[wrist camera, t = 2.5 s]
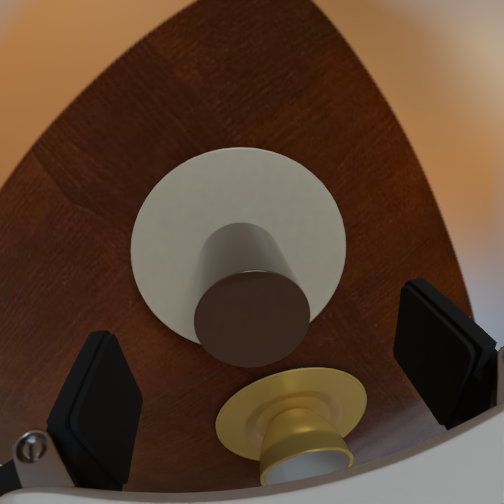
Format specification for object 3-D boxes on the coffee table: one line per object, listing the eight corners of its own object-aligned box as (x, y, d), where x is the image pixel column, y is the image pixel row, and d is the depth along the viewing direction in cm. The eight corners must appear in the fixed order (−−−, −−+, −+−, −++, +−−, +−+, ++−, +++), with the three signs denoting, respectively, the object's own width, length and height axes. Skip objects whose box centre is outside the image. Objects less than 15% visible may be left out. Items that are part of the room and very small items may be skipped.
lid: (116, 305, 17) (80, 384, 11) (175, 114, 14) (146, 100, 8) (287, 355, 20) (313, 436, 13) (369, 197, 16) (445, 235, 10)
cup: (195, 383, 20) (194, 448, 15) (368, 344, 20) (402, 397, 15) (234, 466, 24) (239, 514, 19) (360, 436, 25) (379, 480, 20)
